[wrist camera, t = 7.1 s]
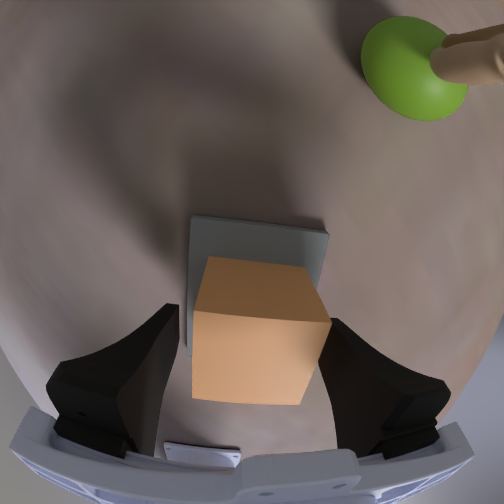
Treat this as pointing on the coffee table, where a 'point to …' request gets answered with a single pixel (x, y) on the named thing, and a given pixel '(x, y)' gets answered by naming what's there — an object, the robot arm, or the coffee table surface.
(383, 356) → the robot arm
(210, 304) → the cube
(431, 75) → the snail figurine
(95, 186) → the coffee table surface
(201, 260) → the mat
